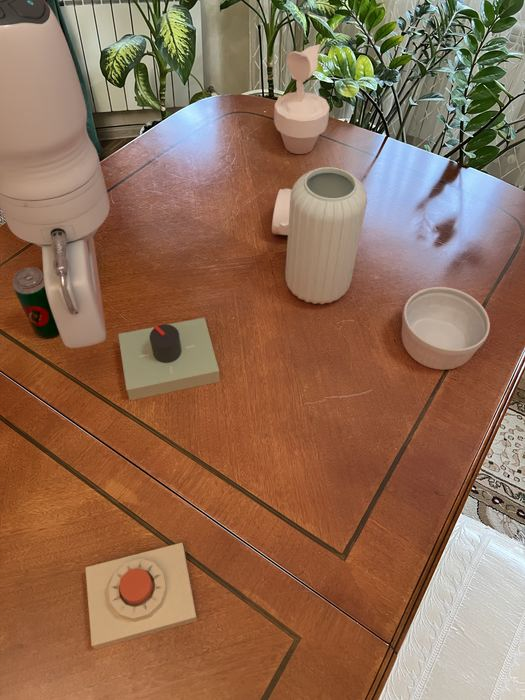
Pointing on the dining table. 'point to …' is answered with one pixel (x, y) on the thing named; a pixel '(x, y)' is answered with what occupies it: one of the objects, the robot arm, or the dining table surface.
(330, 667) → the dining table surface
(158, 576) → the button box
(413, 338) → the ramekin
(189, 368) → the panel
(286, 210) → the soap bar
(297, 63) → the potted plant
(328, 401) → the dining table surface
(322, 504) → the dining table surface
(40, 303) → the soda can
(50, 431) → the dining table surface
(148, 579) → the button
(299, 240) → the vase
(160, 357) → the knob
